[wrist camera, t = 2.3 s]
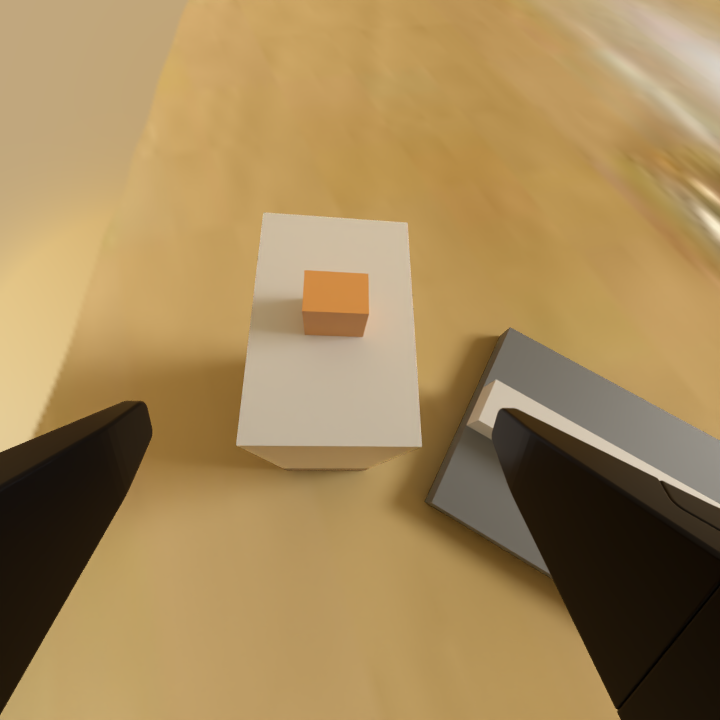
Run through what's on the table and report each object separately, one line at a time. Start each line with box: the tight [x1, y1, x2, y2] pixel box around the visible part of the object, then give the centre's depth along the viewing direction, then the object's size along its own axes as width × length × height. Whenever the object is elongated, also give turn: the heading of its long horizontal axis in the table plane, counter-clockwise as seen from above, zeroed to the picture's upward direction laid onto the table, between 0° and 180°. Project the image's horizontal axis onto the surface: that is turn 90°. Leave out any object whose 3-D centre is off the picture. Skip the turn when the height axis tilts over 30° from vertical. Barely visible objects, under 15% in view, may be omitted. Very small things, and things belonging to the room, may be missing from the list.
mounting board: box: [425, 328, 720, 578], centre depth 17 cm, size 20×11×3 cm, turn 60°
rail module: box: [236, 212, 422, 470], centre depth 13 cm, size 6×4×12 cm, turn 179°
